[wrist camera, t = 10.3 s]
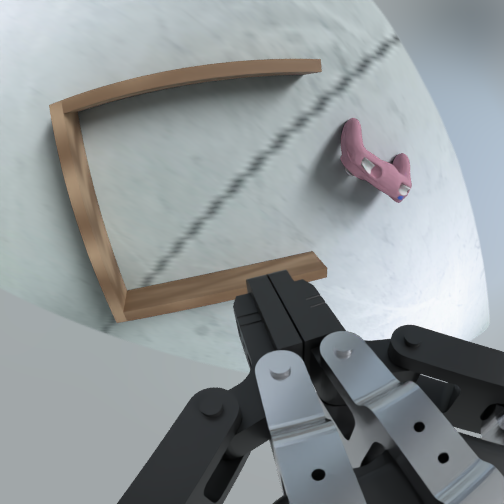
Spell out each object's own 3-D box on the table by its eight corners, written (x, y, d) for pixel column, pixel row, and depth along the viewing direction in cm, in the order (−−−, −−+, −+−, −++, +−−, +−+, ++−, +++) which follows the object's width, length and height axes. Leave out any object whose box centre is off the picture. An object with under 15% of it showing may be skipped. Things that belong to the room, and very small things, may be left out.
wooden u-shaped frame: (64, 104, 22) (49, 105, 18) (302, 63, 25) (320, 59, 22) (120, 300, 32) (116, 322, 29) (312, 259, 36) (326, 277, 33)
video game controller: (324, 141, 31) (340, 180, 27) (349, 111, 28) (371, 146, 24) (383, 177, 35) (403, 216, 31) (407, 153, 32) (431, 191, 28)
